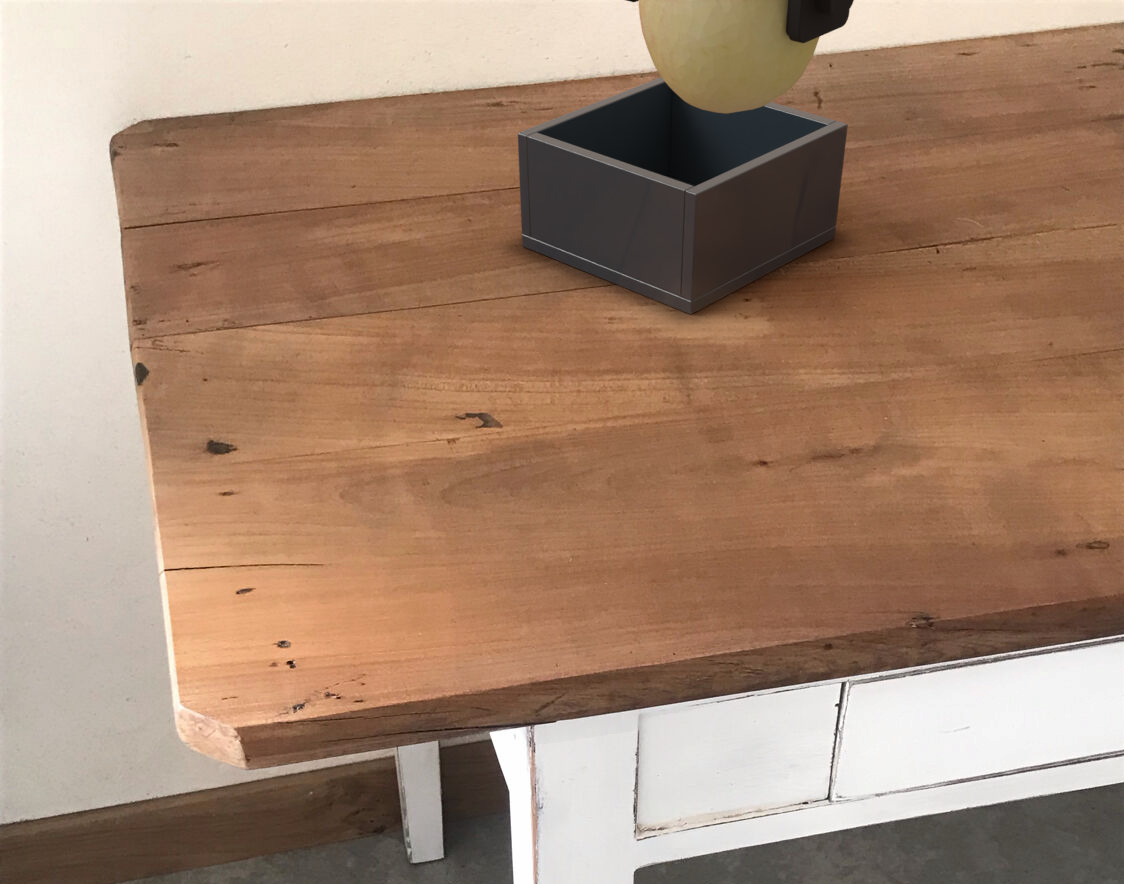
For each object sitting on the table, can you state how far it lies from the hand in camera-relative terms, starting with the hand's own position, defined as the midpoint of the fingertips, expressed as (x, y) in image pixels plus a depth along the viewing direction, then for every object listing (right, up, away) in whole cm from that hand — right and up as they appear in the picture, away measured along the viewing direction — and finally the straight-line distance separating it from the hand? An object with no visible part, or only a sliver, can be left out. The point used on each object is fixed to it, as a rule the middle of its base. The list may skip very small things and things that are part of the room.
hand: (730, 9), depth 54 cm
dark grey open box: (0, +2, +30) cm, 30 cm away
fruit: (0, -3, +2) cm, 4 cm away
